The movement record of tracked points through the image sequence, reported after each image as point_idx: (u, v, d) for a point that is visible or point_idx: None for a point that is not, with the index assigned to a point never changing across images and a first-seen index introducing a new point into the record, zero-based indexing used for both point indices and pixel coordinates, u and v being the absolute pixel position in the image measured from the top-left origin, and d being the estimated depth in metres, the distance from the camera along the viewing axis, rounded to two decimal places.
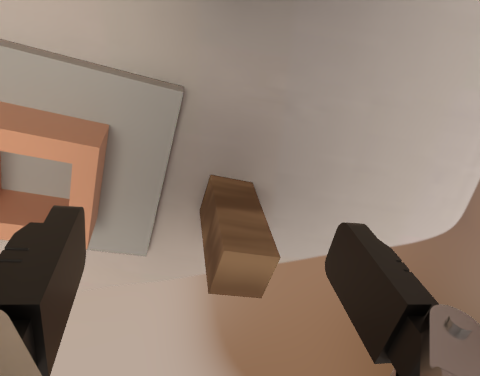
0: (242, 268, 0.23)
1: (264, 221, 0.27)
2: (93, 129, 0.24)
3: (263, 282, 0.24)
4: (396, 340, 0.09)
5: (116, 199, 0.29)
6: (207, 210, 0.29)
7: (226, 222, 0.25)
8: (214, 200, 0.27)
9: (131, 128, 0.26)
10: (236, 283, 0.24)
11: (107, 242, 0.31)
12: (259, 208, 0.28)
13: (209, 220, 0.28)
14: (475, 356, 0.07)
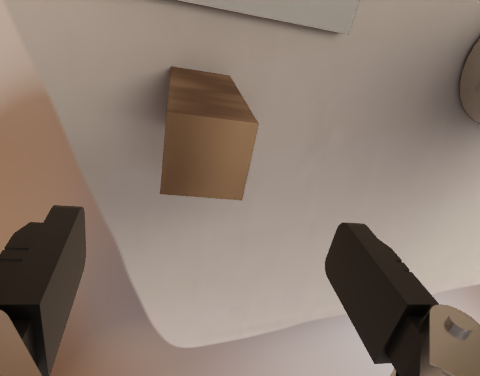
0: (223, 154, 0.16)
1: None
2: None
3: (193, 189, 0.16)
4: (396, 340, 0.09)
5: None
6: (204, 80, 0.21)
7: None
8: (235, 89, 0.20)
9: None
10: (191, 152, 0.15)
11: None
12: None
13: (208, 87, 0.20)
14: (475, 356, 0.07)
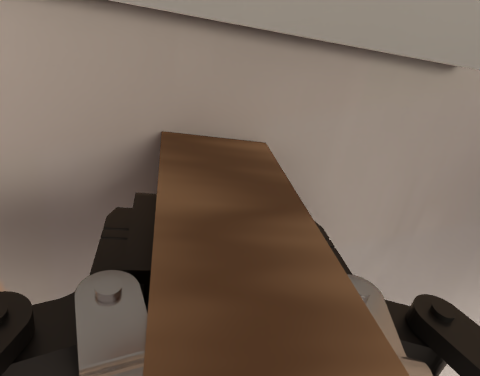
0: None
1: None
2: None
3: None
4: None
5: None
6: (226, 170, 0.11)
7: None
8: (291, 192, 0.10)
9: None
10: None
11: None
12: None
13: (239, 196, 0.09)
14: None
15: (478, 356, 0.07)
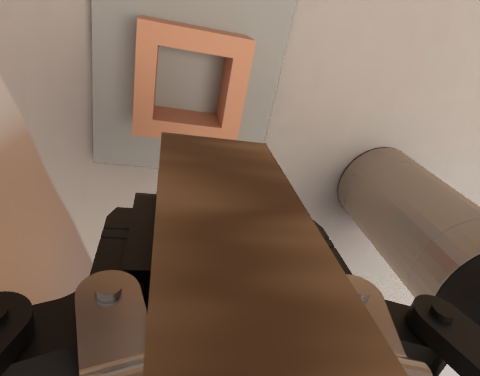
0: None
1: None
2: None
3: None
4: None
5: None
6: (226, 170, 0.11)
7: None
8: (291, 193, 0.10)
9: None
10: None
11: (106, 127, 0.31)
12: None
13: (239, 196, 0.09)
14: None
15: (478, 356, 0.07)
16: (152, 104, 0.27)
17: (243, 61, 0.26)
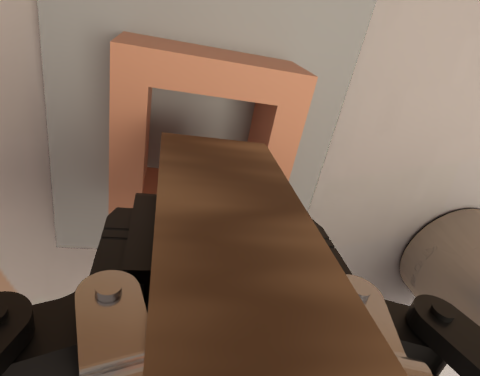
0: None
1: None
2: None
3: None
4: None
5: None
6: (226, 170, 0.11)
7: None
8: (291, 193, 0.10)
9: None
10: None
11: (73, 200, 0.20)
12: None
13: (239, 197, 0.09)
14: None
15: (478, 356, 0.07)
16: (140, 180, 0.16)
17: (294, 110, 0.16)
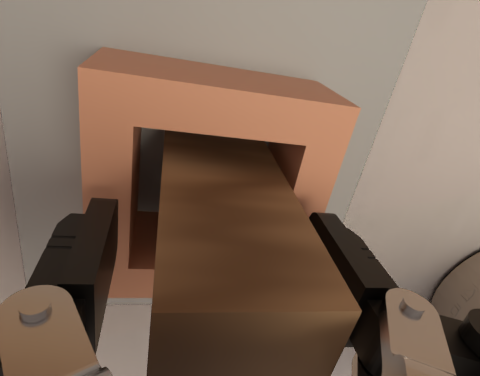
0: (279, 366, 0.07)
1: None
2: None
3: None
4: (357, 323, 0.09)
5: None
6: (221, 151, 0.12)
7: None
8: (276, 169, 0.12)
9: None
10: (209, 371, 0.07)
11: None
12: None
13: (231, 171, 0.11)
14: (424, 335, 0.07)
15: None
16: (126, 242, 0.12)
17: (327, 150, 0.12)
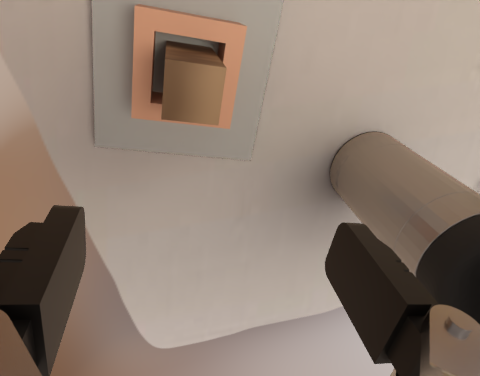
0: (204, 90, 0.23)
1: None
2: None
3: (184, 116, 0.24)
4: (396, 340, 0.09)
5: (157, 120, 0.34)
6: (191, 48, 0.29)
7: None
8: (214, 53, 0.28)
9: (222, 130, 0.36)
10: (182, 88, 0.23)
11: (106, 113, 0.33)
12: None
13: (194, 51, 0.27)
14: (475, 356, 0.07)
15: None
16: (150, 88, 0.28)
17: (235, 45, 0.28)
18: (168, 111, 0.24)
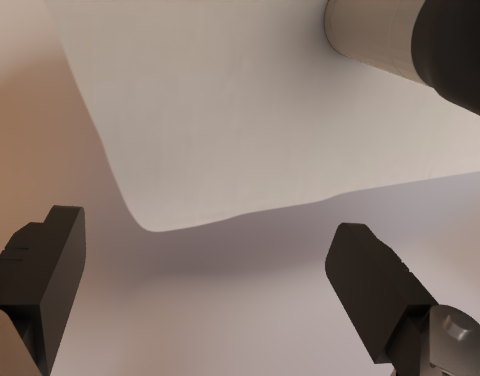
0: None
1: None
2: None
3: None
4: (396, 340, 0.09)
5: None
6: None
7: None
8: None
9: None
10: None
11: None
12: None
13: None
14: (475, 356, 0.07)
15: None
16: None
17: None
18: None
